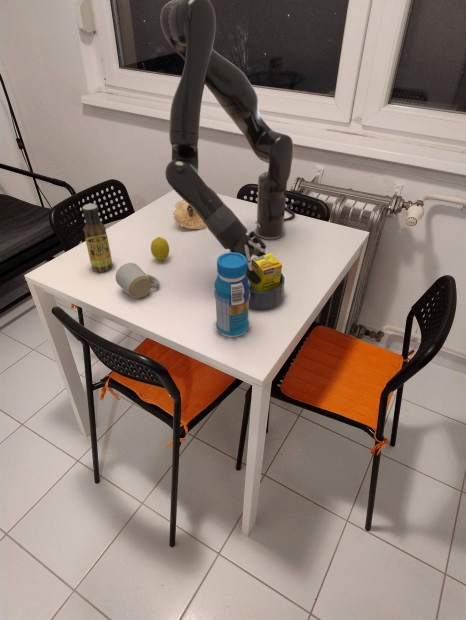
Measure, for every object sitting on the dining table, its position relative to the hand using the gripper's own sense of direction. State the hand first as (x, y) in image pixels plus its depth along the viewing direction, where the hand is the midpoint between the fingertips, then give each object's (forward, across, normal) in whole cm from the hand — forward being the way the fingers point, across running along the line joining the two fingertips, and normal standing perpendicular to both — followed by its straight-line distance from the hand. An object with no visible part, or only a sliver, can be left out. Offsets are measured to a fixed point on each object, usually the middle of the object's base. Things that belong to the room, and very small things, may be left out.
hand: (264, 274), depth 105 cm
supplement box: (+5, 0, +5) cm, 7 cm away
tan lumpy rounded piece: (-22, +33, +34) cm, 52 cm away
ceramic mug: (-18, -11, +29) cm, 36 cm away
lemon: (-20, +5, +31) cm, 37 cm away
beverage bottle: (+4, -15, +8) cm, 17 cm away
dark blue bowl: (+5, 0, +6) cm, 8 cm away
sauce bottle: (-30, -6, +41) cm, 51 cm away
